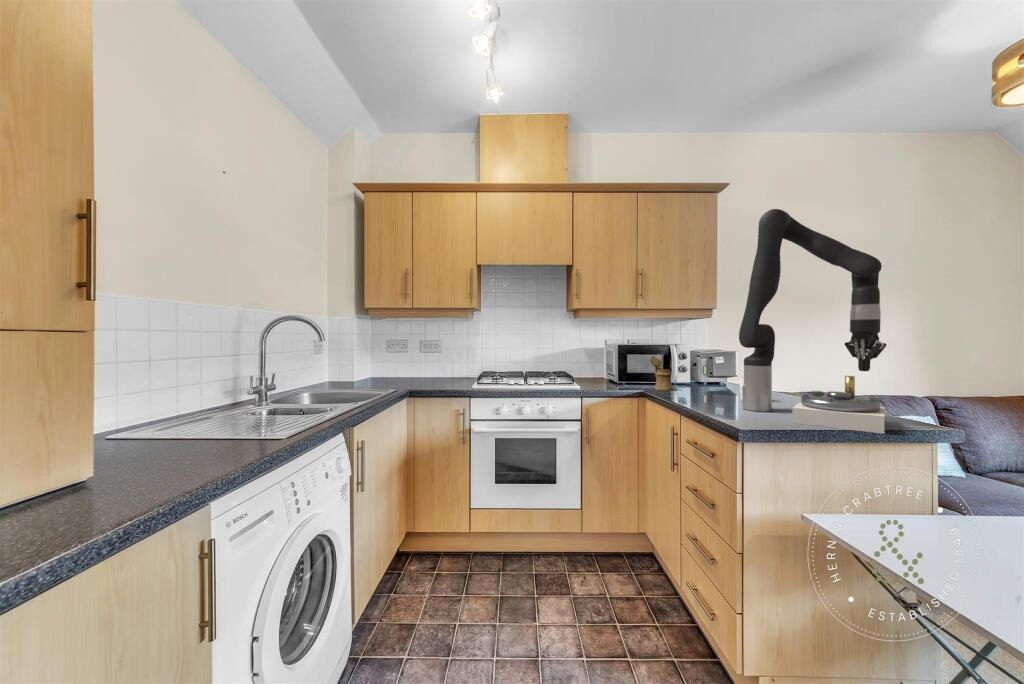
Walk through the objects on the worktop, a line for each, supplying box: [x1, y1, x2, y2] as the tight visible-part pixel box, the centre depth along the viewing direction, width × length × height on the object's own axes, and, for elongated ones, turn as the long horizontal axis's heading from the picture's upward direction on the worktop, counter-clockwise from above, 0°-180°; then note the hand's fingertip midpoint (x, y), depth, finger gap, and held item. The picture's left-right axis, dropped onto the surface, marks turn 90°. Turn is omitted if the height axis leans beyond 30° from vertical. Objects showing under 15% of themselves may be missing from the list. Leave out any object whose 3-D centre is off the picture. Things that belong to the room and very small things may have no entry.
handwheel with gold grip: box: [800, 375, 881, 412], centre depth 131 cm, size 20×20×10 cm
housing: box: [792, 401, 885, 434], centre depth 131 cm, size 22×22×5 cm
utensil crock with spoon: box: [650, 355, 674, 392], centre depth 217 cm, size 9×14×18 cm, turn 19°
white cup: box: [738, 376, 744, 401], centre depth 178 cm, size 8×8×10 cm
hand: (863, 370), depth 132 cm, fingers closed
